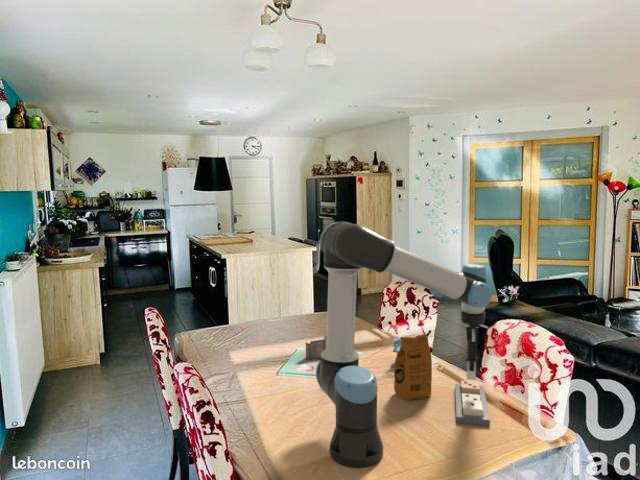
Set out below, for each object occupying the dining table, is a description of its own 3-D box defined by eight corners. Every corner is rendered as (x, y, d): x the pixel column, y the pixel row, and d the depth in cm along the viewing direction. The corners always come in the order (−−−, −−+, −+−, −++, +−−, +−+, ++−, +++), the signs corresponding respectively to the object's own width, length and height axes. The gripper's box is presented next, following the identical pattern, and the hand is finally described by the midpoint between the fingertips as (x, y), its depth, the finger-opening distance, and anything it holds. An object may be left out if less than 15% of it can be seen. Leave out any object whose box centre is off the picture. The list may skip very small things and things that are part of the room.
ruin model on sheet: (328, 354, 218) (328, 333, 217) (331, 356, 215) (331, 335, 214) (305, 358, 213) (305, 337, 212) (308, 360, 210) (307, 339, 209)
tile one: (482, 417, 153) (482, 409, 153) (463, 415, 154) (463, 407, 154) (481, 408, 159) (481, 401, 158) (462, 407, 160) (462, 399, 160)
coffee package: (390, 391, 177) (390, 333, 174) (420, 386, 181) (420, 329, 178) (404, 403, 167) (404, 341, 165) (434, 397, 172) (435, 337, 169)
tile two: (480, 409, 161) (481, 401, 160) (462, 407, 162) (462, 400, 162) (479, 401, 166) (479, 394, 166) (461, 400, 168) (461, 392, 168)
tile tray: (489, 426, 151) (489, 420, 150) (456, 422, 153) (456, 416, 153) (483, 391, 176) (483, 386, 175) (455, 389, 178) (455, 383, 178)
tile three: (479, 395, 168) (479, 388, 168) (461, 394, 170) (461, 386, 169) (478, 388, 174) (478, 381, 174) (460, 387, 176) (461, 380, 175)
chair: (413, 363, 205) (414, 335, 204) (408, 369, 197) (409, 341, 196) (396, 360, 208) (396, 333, 207) (390, 367, 200) (390, 339, 199)
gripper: (486, 316, 153) (484, 387, 156) (483, 306, 166) (481, 372, 169) (462, 315, 155) (460, 385, 158) (460, 305, 168) (459, 370, 170)
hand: (471, 378), depth 163 cm, fingers closed
